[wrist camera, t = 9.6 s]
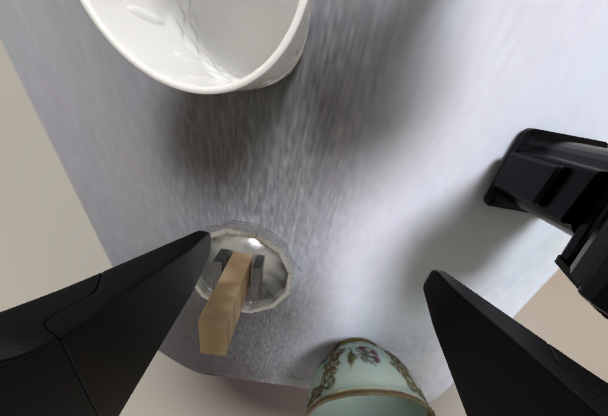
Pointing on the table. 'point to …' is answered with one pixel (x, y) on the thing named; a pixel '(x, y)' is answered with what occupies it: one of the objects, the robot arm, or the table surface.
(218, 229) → the tin
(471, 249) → the table surface
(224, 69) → the white cup
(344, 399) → the bowl
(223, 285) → the wooden plank
